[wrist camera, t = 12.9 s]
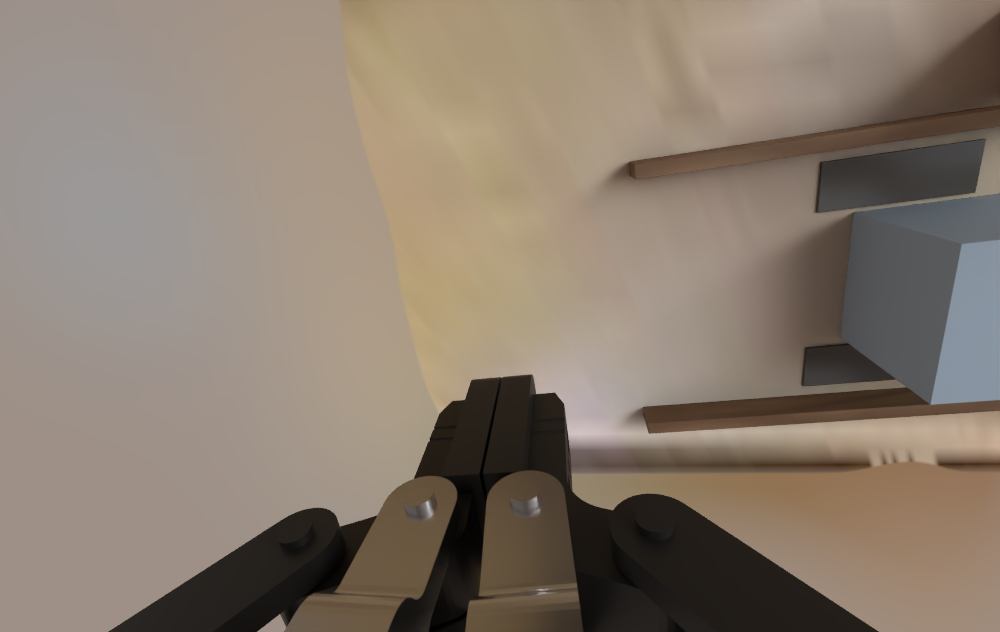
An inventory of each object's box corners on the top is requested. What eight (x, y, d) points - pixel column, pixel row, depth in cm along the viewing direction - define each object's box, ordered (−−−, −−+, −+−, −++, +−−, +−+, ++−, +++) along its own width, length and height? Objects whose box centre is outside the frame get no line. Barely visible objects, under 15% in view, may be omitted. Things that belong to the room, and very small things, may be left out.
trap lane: (629, 161, 35) (641, 167, 30) (1182, 77, 29) (1300, 68, 25) (643, 416, 42) (654, 452, 38) (1082, 385, 37) (1157, 422, 33)
